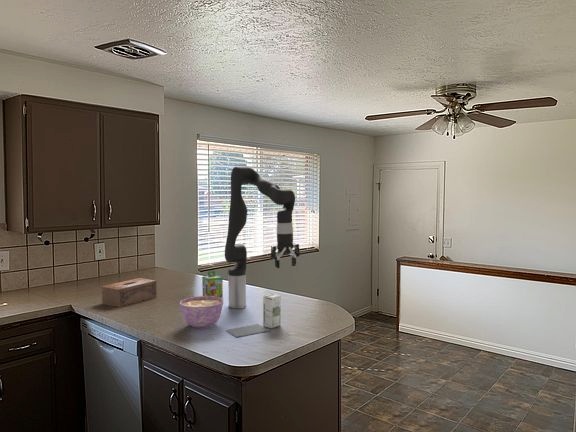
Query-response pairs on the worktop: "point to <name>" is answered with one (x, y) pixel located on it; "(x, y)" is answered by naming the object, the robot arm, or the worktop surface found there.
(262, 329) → the mat
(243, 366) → the worktop surface
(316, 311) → the worktop surface
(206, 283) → the green juice carton
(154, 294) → the tissue box cover
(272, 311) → the syrup box
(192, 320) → the bowl of food
